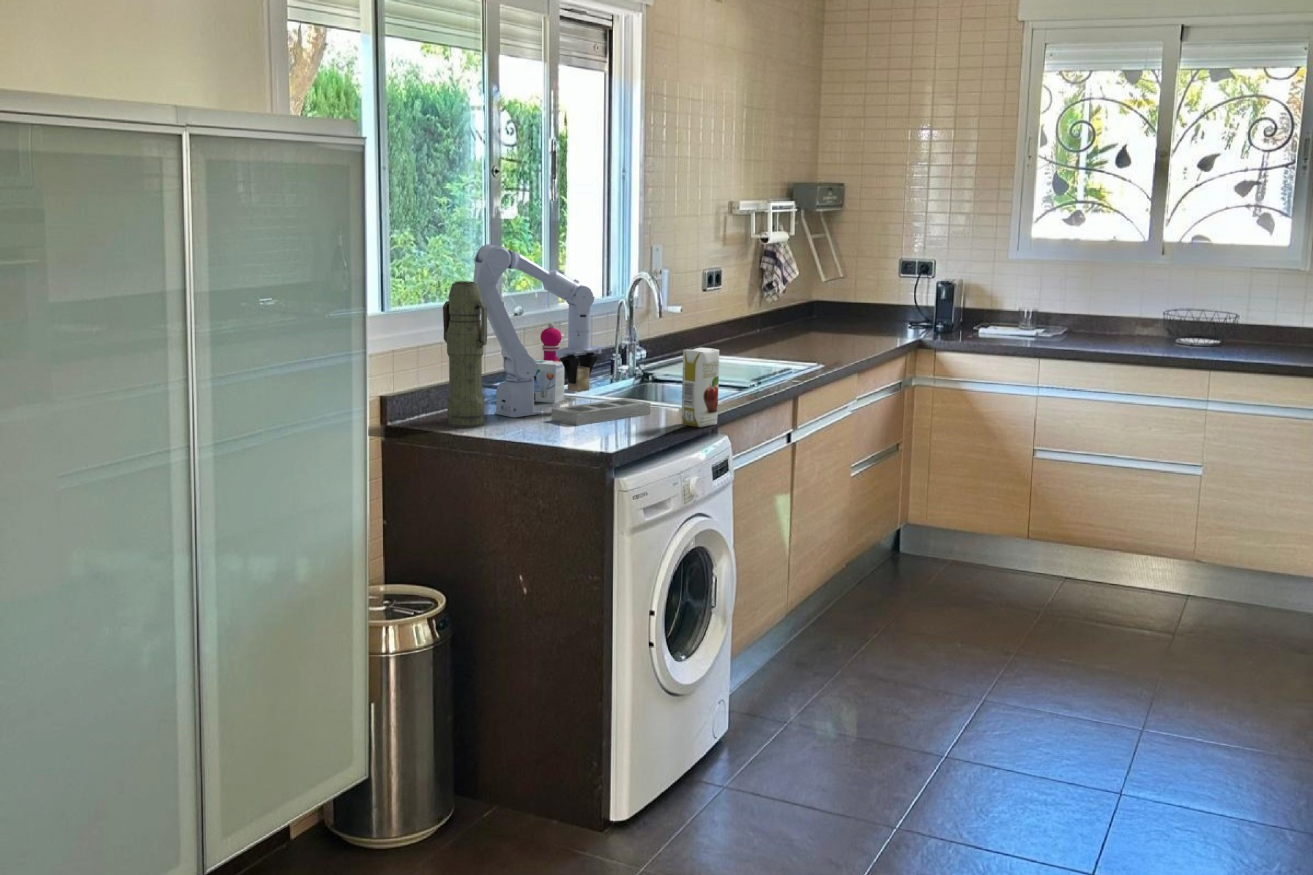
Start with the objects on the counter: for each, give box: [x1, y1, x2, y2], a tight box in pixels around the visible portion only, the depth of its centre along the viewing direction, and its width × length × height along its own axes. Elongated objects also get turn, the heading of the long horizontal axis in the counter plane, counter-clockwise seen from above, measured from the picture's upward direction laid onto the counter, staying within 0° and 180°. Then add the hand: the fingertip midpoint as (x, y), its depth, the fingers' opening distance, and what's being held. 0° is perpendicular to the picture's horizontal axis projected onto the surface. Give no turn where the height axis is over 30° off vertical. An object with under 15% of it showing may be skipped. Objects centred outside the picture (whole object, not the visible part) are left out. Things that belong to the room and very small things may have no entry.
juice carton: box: [681, 347, 720, 428], centre depth 327 cm, size 8×9×19 cm
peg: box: [567, 365, 591, 393], centre depth 343 cm, size 4×4×6 cm
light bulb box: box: [534, 359, 565, 404], centre depth 360 cm, size 11×7×11 cm, turn 73°
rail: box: [551, 397, 651, 427], centre depth 336 cm, size 26×10×3 cm, turn 136°
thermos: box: [442, 280, 488, 429], centre depth 319 cm, size 9×12×35 cm
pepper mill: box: [540, 322, 563, 361], centre depth 373 cm, size 7×7×20 cm
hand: (578, 382), depth 344 cm, fingers closed on peg, 4 cm apart
